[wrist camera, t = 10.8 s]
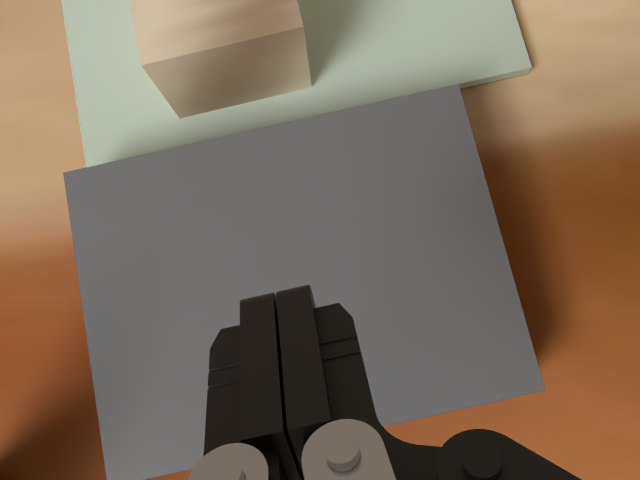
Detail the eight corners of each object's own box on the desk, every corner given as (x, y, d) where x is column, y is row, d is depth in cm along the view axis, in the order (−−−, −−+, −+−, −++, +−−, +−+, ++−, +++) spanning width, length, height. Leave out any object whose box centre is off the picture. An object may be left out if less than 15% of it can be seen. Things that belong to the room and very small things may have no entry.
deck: (446, 113, 26) (458, 84, 23) (521, 385, 24) (545, 390, 21) (95, 192, 26) (63, 172, 23) (137, 470, 24) (107, 487, 21)
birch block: (311, 87, 26) (278, -50, 27) (303, 26, 21) (263, -137, 22) (179, 118, 26) (152, -20, 27) (140, 65, 21) (109, -101, 22)
